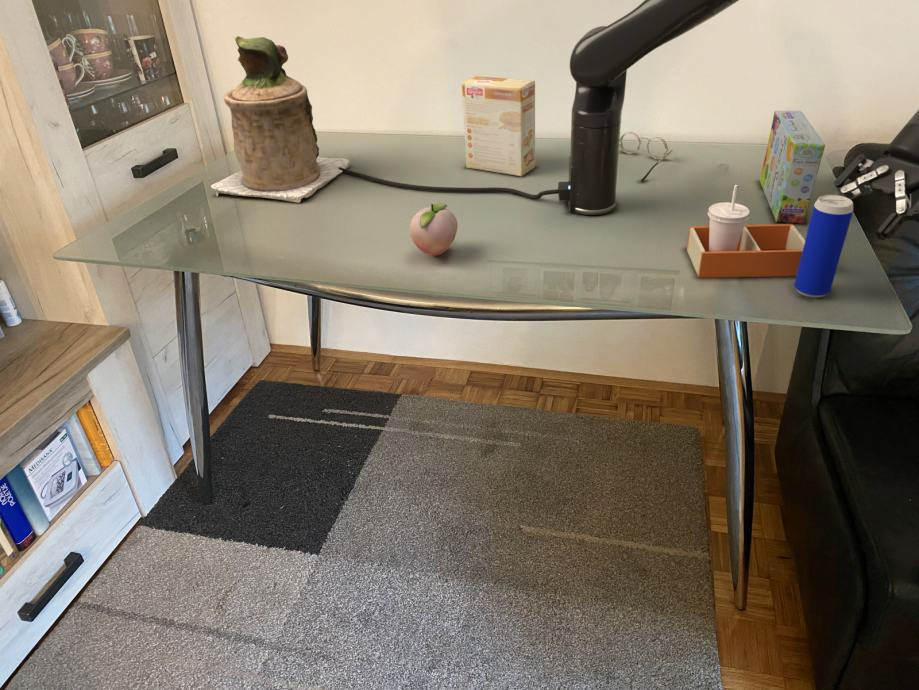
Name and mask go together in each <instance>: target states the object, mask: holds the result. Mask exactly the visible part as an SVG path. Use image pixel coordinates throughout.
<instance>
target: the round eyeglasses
mask: <svg viewBox="0 0 919 690" xmlns="http://www.w3.org/2000/svg"><path fill="white" fill-rule="evenodd" d="M628 134H631V135H634V136H635V137H636V138H637V141H638V142H639V143H638V146H637V147H636V148H637V149H636V150H635V151H634V152H631V151H628V150H627V149H626V148H625V147H624V144H623V138H624V137H625V135H628ZM641 139H642V140H643V139H644V140H647V143H646V150H647V153H648V155H649V156H650V157H651V158H653V159H654V160H658V161H657V162H655V164H653V166H651V168H650V169H649V171H647V173H646V174H645V175H644V176H643V177H642V178H641V180H640V182H644V181H645V180H646V178H647V177H648V176H649V175H650V174H651V172H652V171H653V169H654V168H655V167H656V166H657V165H658V164H660V163H661V162H662V161H663V160H664V159H666V158H667V157H668V156H669V155H670V154H671V153H672V152H673V148H669V147H668V142H666V140H665V139H664V138H663V137H660V136H654V137H652V138H651V139H649V138H648V137H643V136H640V137H639V135H638V134H637V133H635V132H632V131H628V132H625V133H623V134H622V135H620V143H619V149H620V151H622V152H624V153H625V154H629V155H632V154H635V153H637V152H638V151H639V150H640V148H641V144H642V141H641ZM652 139H658V140H660V141H661V142H662V144H663V147H664V149H665V152H664V153H663V155H662V156H661V157H656V156H654V155H653V154H652V153H651V152H650V149H649V145H650V142H651V141H652Z"/></svg>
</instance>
